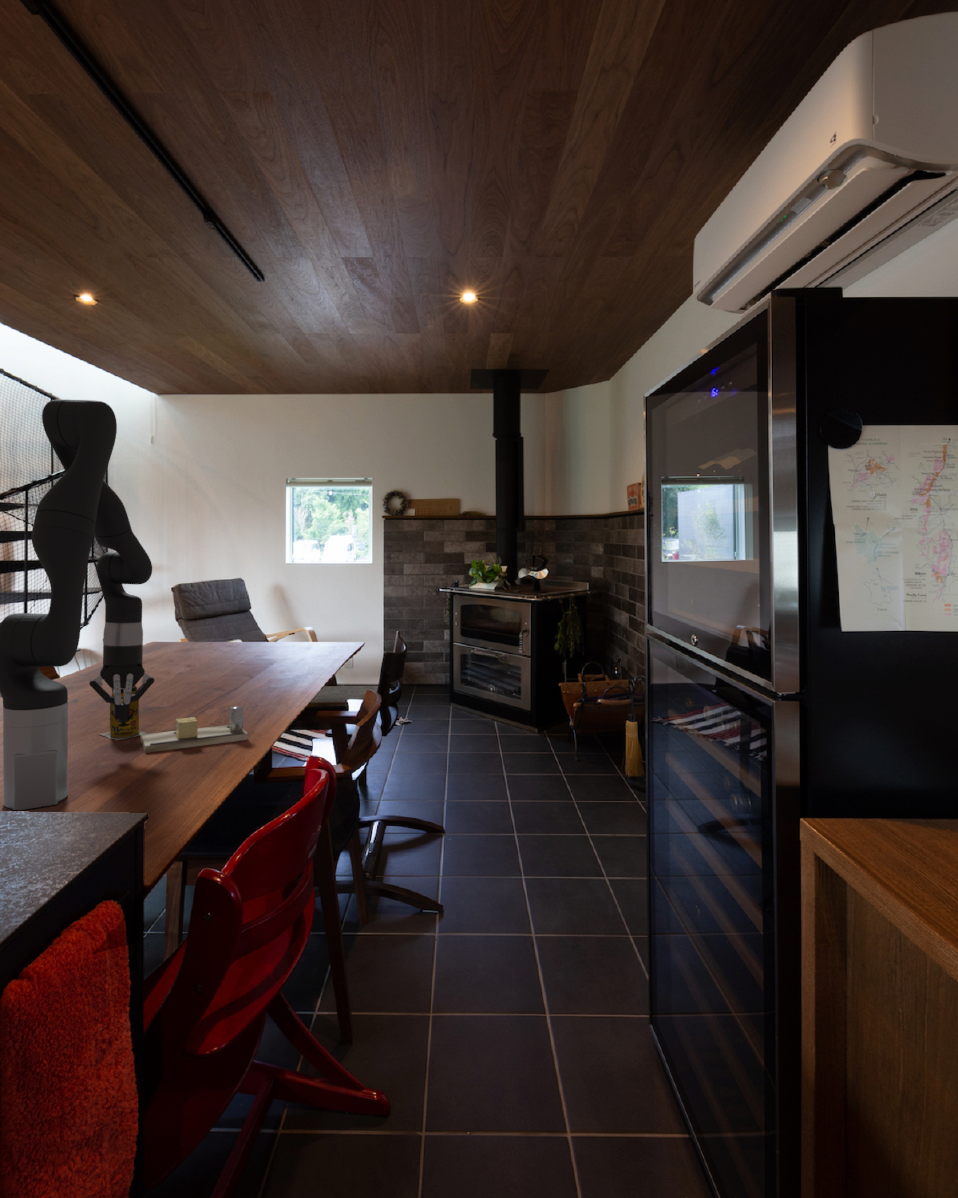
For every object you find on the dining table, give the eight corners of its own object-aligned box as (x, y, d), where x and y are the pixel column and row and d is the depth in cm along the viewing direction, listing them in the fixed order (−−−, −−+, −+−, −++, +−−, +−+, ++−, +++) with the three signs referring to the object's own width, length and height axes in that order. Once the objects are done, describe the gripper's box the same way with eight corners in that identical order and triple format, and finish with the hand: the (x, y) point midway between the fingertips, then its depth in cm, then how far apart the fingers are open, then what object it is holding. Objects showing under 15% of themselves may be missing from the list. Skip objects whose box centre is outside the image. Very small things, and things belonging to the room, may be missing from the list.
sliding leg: (197, 737, 142) (197, 721, 142) (178, 740, 140) (178, 723, 139) (192, 730, 148) (192, 714, 147) (173, 732, 145) (174, 716, 145)
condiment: (118, 741, 143) (118, 690, 142) (97, 735, 147) (98, 686, 146) (147, 734, 149) (148, 686, 149) (127, 728, 153) (128, 681, 153)
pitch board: (247, 739, 147) (247, 732, 147) (145, 752, 135) (145, 745, 135) (238, 729, 156) (238, 722, 156) (140, 741, 143) (140, 733, 143)
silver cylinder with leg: (244, 732, 148) (244, 708, 148) (231, 734, 147) (231, 709, 146) (237, 726, 154) (238, 702, 153) (225, 727, 152) (225, 703, 152)
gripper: (88, 645, 127) (86, 727, 127) (159, 643, 134) (157, 721, 135) (87, 641, 133) (85, 720, 133) (155, 640, 140) (153, 714, 141)
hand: (121, 720), depth 134 cm, fingers closed
